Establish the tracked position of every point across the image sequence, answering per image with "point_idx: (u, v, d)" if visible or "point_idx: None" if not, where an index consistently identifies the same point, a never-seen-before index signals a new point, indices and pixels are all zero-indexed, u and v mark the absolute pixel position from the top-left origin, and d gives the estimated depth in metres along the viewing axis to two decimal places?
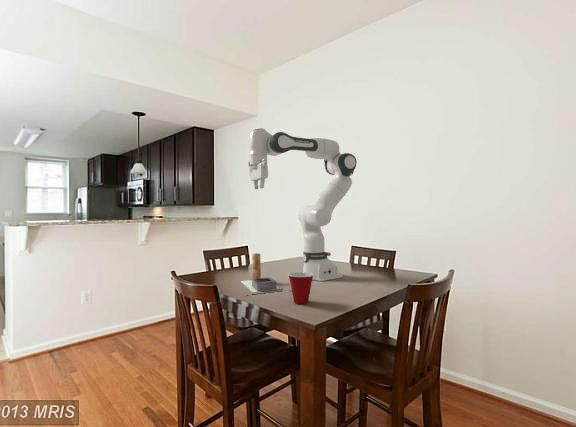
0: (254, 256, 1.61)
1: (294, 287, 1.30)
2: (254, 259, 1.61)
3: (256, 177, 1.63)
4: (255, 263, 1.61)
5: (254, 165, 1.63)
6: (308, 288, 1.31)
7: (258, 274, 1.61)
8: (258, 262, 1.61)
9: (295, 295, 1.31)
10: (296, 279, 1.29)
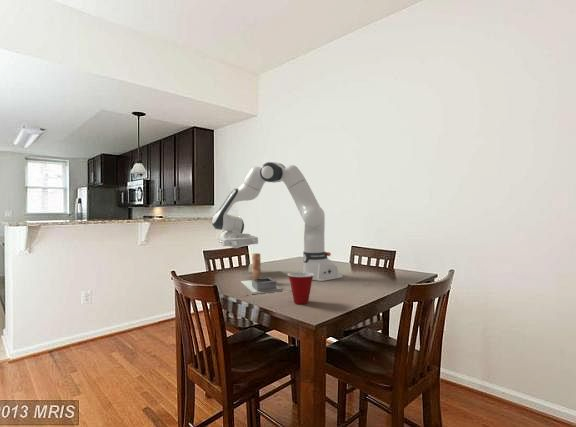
0: (254, 256, 1.61)
1: (294, 287, 1.30)
2: (254, 259, 1.61)
3: (238, 245, 1.76)
4: (255, 263, 1.61)
5: (234, 245, 1.82)
6: (308, 288, 1.31)
7: (258, 274, 1.61)
8: (258, 262, 1.61)
9: (295, 295, 1.31)
10: (296, 279, 1.29)
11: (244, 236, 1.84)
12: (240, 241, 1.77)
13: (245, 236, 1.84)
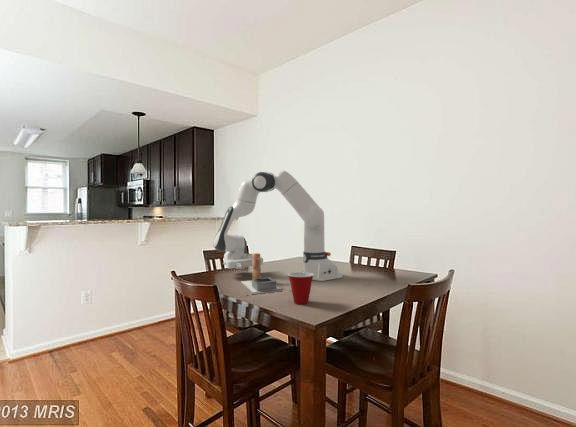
0: (254, 256, 1.61)
1: (294, 287, 1.30)
2: (254, 259, 1.61)
3: (242, 266, 1.73)
4: (255, 263, 1.61)
5: (238, 266, 1.78)
6: (308, 288, 1.31)
7: (258, 274, 1.61)
8: (258, 262, 1.61)
9: (295, 295, 1.31)
10: (296, 279, 1.29)
11: (249, 257, 1.80)
12: (245, 262, 1.73)
13: (250, 256, 1.80)
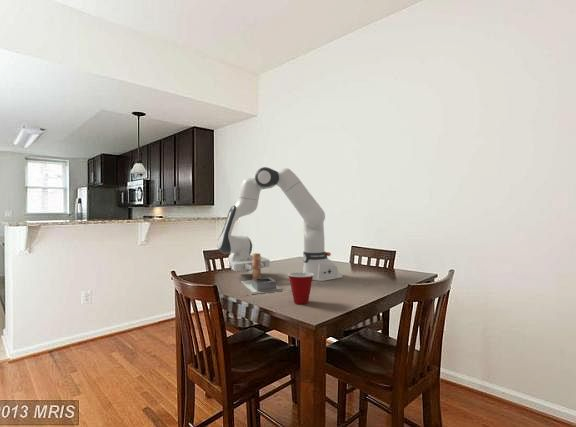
0: (254, 256, 1.61)
1: (294, 287, 1.30)
2: (254, 259, 1.61)
3: None
4: (255, 263, 1.61)
5: None
6: (308, 288, 1.31)
7: (258, 274, 1.61)
8: (258, 262, 1.61)
9: (295, 295, 1.31)
10: (296, 279, 1.29)
11: None
12: (251, 264, 1.66)
13: None
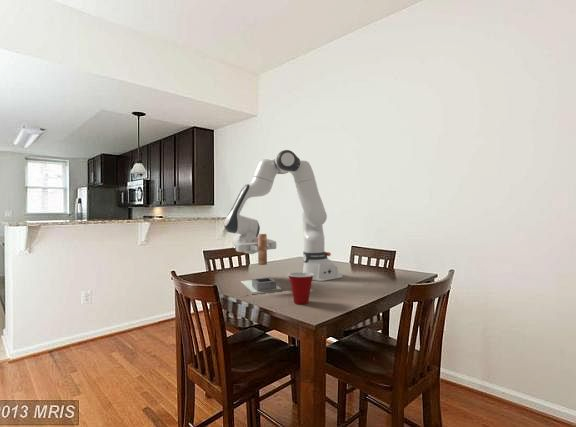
0: (260, 236, 1.51)
1: (294, 287, 1.30)
2: (260, 240, 1.51)
3: (254, 250, 1.56)
4: (261, 244, 1.51)
5: (249, 251, 1.61)
6: (308, 288, 1.31)
7: (264, 255, 1.51)
8: (264, 243, 1.51)
9: (295, 295, 1.31)
10: (296, 279, 1.29)
11: None
12: (256, 246, 1.56)
13: None
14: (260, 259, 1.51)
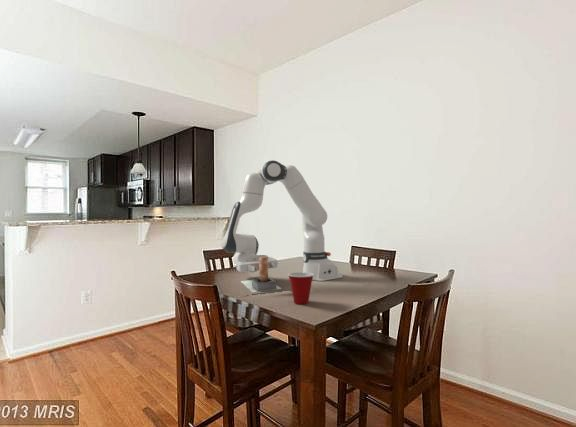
0: (261, 260, 1.50)
1: (294, 287, 1.30)
2: (261, 263, 1.50)
3: None
4: (262, 267, 1.50)
5: None
6: (308, 288, 1.31)
7: (266, 279, 1.50)
8: (265, 266, 1.50)
9: (295, 295, 1.31)
10: (296, 279, 1.29)
11: None
12: (258, 265, 1.55)
13: None
14: None
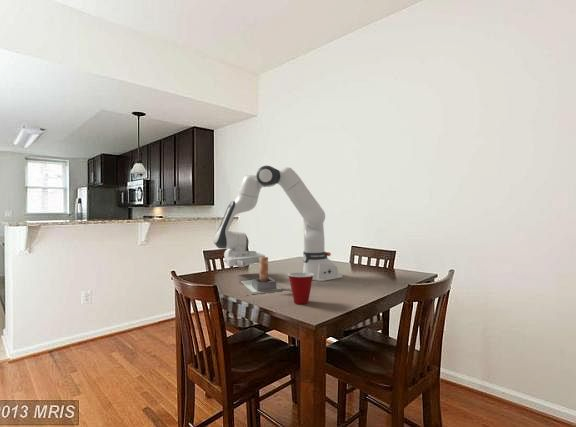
0: (261, 260, 1.50)
1: (294, 287, 1.30)
2: (261, 263, 1.50)
3: (244, 264, 1.66)
4: (262, 267, 1.50)
5: None
6: (308, 288, 1.31)
7: (266, 279, 1.50)
8: (266, 266, 1.50)
9: (295, 295, 1.31)
10: (296, 279, 1.29)
11: (250, 254, 1.73)
12: (246, 260, 1.66)
13: (251, 254, 1.74)
14: None
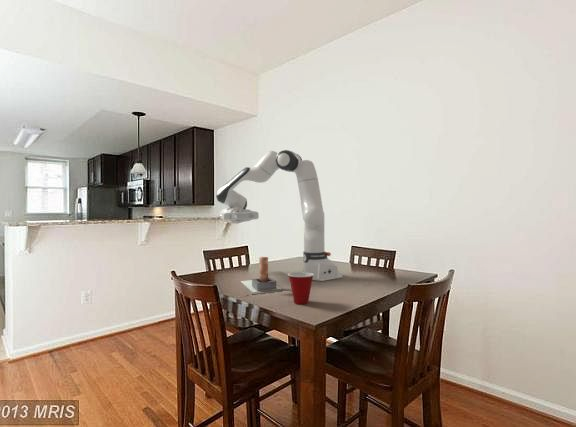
0: (261, 260, 1.50)
1: (294, 287, 1.30)
2: (261, 263, 1.50)
3: (238, 219, 1.74)
4: (262, 267, 1.50)
5: (234, 220, 1.80)
6: (308, 288, 1.31)
7: (266, 279, 1.50)
8: (266, 266, 1.50)
9: (295, 295, 1.31)
10: (296, 279, 1.29)
11: (244, 211, 1.82)
12: (240, 215, 1.75)
13: (245, 211, 1.82)
14: None
